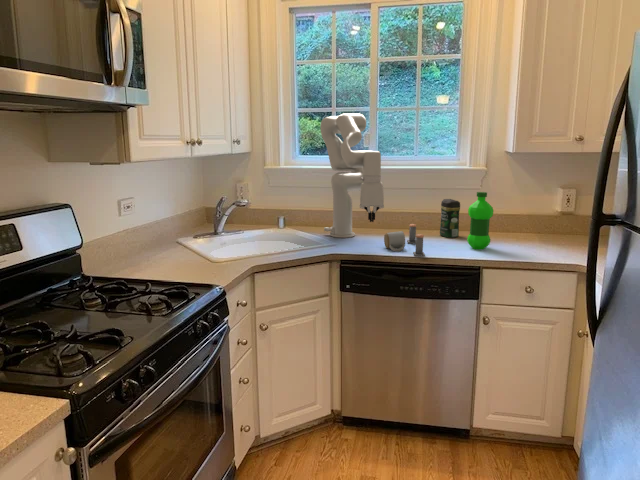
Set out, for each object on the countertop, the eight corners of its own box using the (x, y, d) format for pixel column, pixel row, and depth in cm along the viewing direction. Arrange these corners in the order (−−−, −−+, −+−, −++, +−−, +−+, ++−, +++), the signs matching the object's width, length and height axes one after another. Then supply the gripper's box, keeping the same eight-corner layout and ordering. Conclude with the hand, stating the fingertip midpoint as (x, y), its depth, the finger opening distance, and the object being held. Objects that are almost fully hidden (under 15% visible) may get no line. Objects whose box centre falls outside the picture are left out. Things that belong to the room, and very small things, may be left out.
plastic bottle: (461, 246, 225) (465, 191, 219) (482, 245, 227) (486, 190, 222) (473, 251, 215) (477, 194, 210) (495, 250, 218) (499, 193, 212)
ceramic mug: (383, 246, 225) (383, 230, 223) (400, 246, 226) (401, 229, 224) (389, 252, 215) (390, 235, 213) (407, 251, 216) (408, 234, 214)
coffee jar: (437, 234, 251) (438, 198, 247) (451, 234, 253) (453, 197, 249) (446, 238, 242) (448, 200, 238) (461, 237, 244) (463, 200, 240)
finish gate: (414, 256, 207) (415, 236, 206) (406, 241, 235) (407, 223, 233) (424, 256, 207) (425, 236, 205) (416, 241, 235) (417, 223, 233)
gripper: (354, 180, 212) (354, 222, 216) (389, 180, 211) (389, 222, 215) (354, 179, 220) (354, 220, 223) (388, 179, 219) (388, 220, 222)
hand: (371, 221), depth 219 cm, fingers closed
